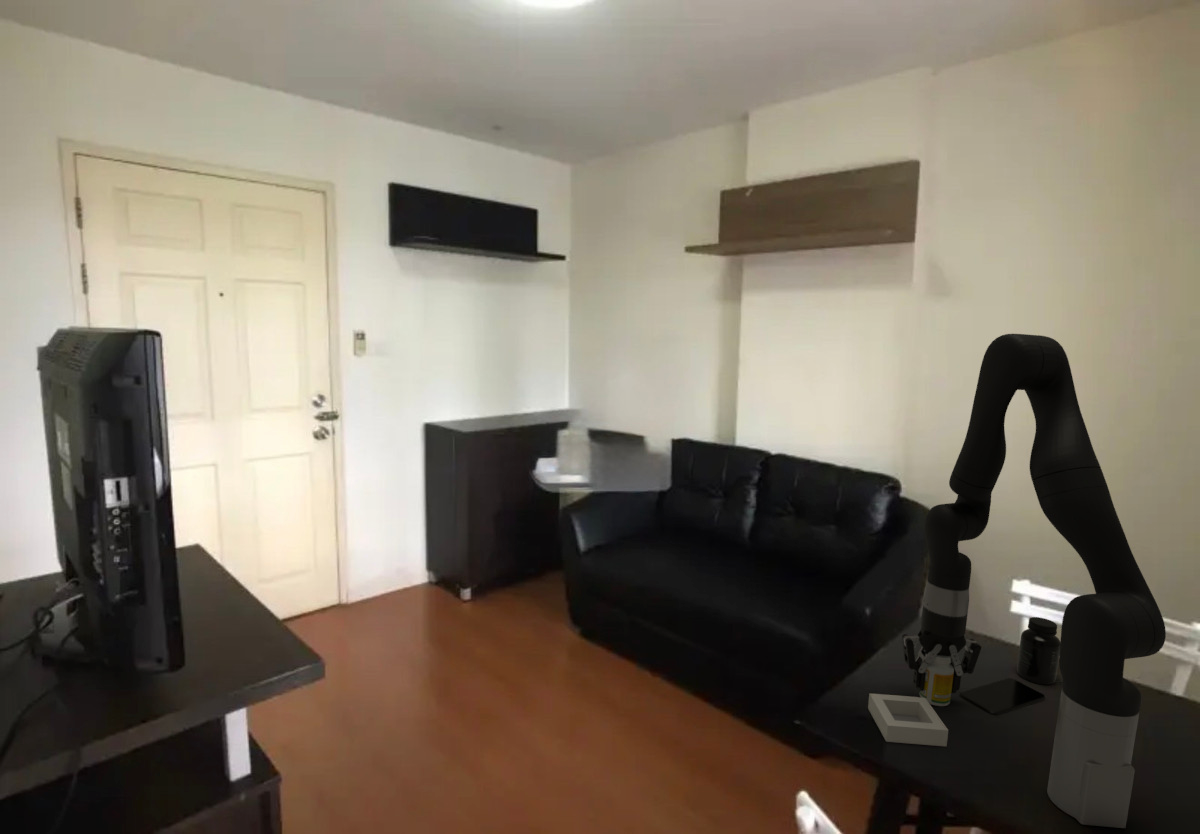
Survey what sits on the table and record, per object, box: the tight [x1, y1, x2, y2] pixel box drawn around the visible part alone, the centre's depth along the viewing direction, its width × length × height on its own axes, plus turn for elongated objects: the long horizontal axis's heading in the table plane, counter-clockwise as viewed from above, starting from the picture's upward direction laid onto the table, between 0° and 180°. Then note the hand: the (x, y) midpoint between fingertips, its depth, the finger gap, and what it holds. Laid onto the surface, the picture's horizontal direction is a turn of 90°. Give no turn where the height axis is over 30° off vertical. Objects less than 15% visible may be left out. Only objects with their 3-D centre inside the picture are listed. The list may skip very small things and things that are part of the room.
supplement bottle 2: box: [1016, 616, 1061, 686], centre depth 137 cm, size 7×7×12 cm
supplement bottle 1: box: [918, 655, 954, 707], centre depth 127 cm, size 5×5×10 cm
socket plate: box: [867, 693, 949, 748], centre depth 119 cm, size 10×10×3 cm
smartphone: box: [958, 677, 1047, 716], centre depth 130 cm, size 8×1×16 cm
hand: (935, 689), depth 128 cm, fingers closed on supplement bottle 1, 5 cm apart
